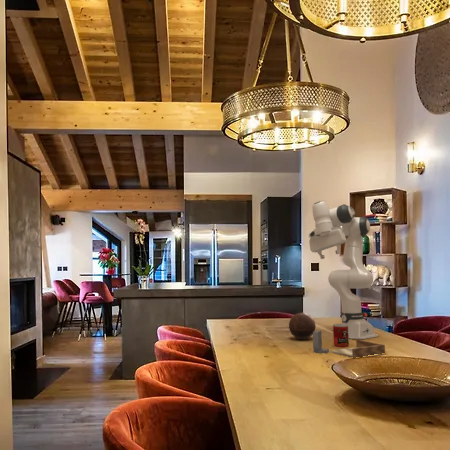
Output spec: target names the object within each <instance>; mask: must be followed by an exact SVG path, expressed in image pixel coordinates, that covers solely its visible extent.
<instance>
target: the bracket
mask: <svg viewBox="0 0 450 450" xmlns="http://www.w3.org/2000/svg"><path fill="white" fill-rule="evenodd" d="M322 336H323V335H322V330H315V331H314V332H313V335H312V341H313V343H312V345H313V353H314V352H315V354H322V353H326V354H329V353H330V349H329V348H323V341H322V340H323V337H322Z"/></svg>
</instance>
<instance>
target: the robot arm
mask: <svg viewBox="0 0 450 450" xmlns="http://www.w3.org/2000/svg"><path fill="white" fill-rule="evenodd" d="M311 209H312V217H313V220H314V223H315V225H314V226H315V228H314V229H313V230H312V231H311V232H310V233H309V234H308V238H309V242H308V243H309V250H310V252H312V253H315V254H316V253H317V255H318V256H319V257H320V260H325V257H326V256H325V254H323V251H324V250H327V249H330V248H333V247H336V250H334V251H335V252H334V253H335V255H340V254H341V248H342V246H341V245H343V244H344V247H343V256H342V257H343V258H342V262H343V263H344V265H346V266H347V267H349V268H350V269H336V270H331V272H330V273H329V274H328V278H327V279H328V283H329V285H330V286H331V288H333V289H334V290H335V291H336V292H337V293H338V296H339V298H340V304H341V313H340V316H341V318H340V319H341V324H347V325H348V337H349V339H355V340H366V339H371V338H376V337H379V334H377V333H375V331H374V326H373V325H372V324H371V323H370V322H369V321H367V320H366V319H365V317H367V316H368V314H367V313H366V312H362V300H361V297H360V296H358V295H356V294H355V293H353V292H352V291H351V289H356V290H357V289H358V290H359V289H367V288H371V286H372V285H373V283H374V275H373V273H371V271H370V270H369V269H367V268H366V267H365V266H364V263H363V253H364V242H363V238H365V237H366V235H368V234H369V232H370V229H371V223H370V220H369V219H368V218H367V217H365V216H364V217H363V216H360V217H356V211H355V209H354V208H353V207H352V206H349V205H347V204H341V205H339V206H337V207H336V206H335V207H333V208H329V205H328V203H327V200H319V201H317V202H314V203H313V204H312V208H311Z"/></svg>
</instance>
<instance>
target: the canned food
mask: <svg viewBox="0 0 450 450" xmlns="http://www.w3.org/2000/svg"><path fill="white" fill-rule="evenodd" d="M332 330H333V331H332V333H333V335H332V336H333V346H334V347H337V348H349V344H350V343H349V342H350V341H349V339H350V338H349V337H348V325H347V324H342V323H333V325H332Z"/></svg>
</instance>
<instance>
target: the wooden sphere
mask: <svg viewBox="0 0 450 450" xmlns="http://www.w3.org/2000/svg"><path fill="white" fill-rule="evenodd" d="M288 329H289V331H290V334H291V335H292V336H293V337H294V338H295V339H298V340H307V339H309V338H311V337H313V332H314V331H316V322H315V320H314V318H313V317H312V316H311V315H310V314H308V313H306V312H297V313H295V314H294V315H292V316H291V318H290V319H289V322H288Z"/></svg>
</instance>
